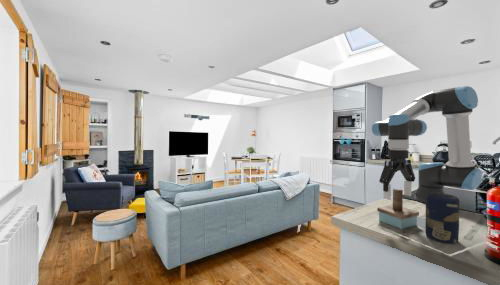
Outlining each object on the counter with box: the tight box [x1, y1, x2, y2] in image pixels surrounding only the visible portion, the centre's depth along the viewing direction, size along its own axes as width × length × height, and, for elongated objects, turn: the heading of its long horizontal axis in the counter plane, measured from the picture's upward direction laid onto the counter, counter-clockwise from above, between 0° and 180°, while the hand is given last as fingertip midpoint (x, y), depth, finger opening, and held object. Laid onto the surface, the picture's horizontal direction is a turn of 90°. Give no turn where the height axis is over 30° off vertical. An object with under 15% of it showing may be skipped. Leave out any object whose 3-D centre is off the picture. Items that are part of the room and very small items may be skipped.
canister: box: [424, 192, 460, 244], centre depth 82 cm, size 10×10×18 cm
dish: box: [378, 211, 417, 230], centre depth 97 cm, size 10×10×5 cm
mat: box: [417, 216, 426, 229], centre depth 98 cm, size 12×12×1 cm
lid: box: [376, 188, 420, 219], centre depth 97 cm, size 11×11×10 cm
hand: (397, 197), depth 97 cm, fingers open, 13 cm apart
